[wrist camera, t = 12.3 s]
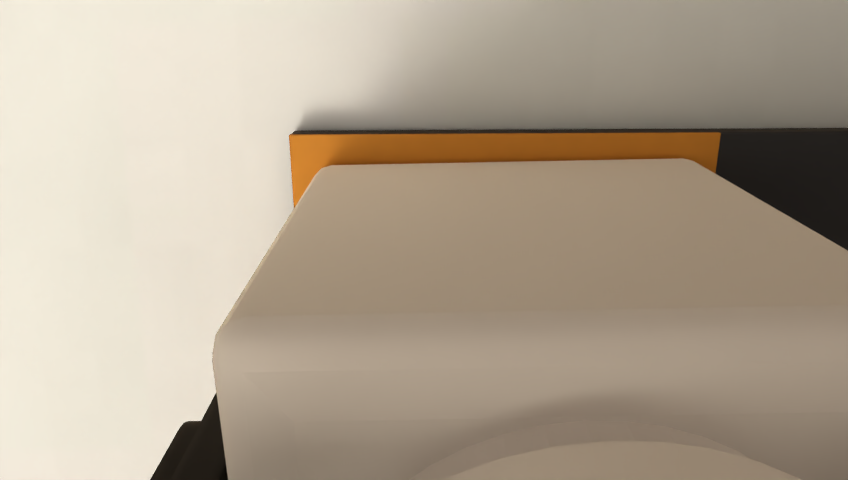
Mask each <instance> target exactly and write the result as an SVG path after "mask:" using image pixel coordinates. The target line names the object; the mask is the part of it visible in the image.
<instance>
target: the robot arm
mask: <svg viewBox="0 0 848 480" xmlns="http://www.w3.org/2000/svg"><path fill="white" fill-rule="evenodd" d="M150 480H228V475H227V467H226V460H225V453H224V445H223V438H222V430H221V423H220V415H219V408H218V400H217V393H216V394H215V396H214V398H213V400H212V402H211V404H210V406H209V408H208V409H207V411H206V413H205V415H204V417H203V419H202V421H188V422H185V423H183V425H182V426H181V427H180V429H179V430H178V432H177V434H176V435H175V437H174V439H173V441H172V443H171V444H170V446H169V448H168V450H167V451H166V453H165V455H164V457H163V458H162V460H161V462H160V464H159V465H158V467H157V469H156V471H155V472H154V474H153V476H152V478H151V479H150Z"/></svg>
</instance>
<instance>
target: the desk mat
mask: <svg viewBox="0 0 848 480" xmlns="http://www.w3.org/2000/svg"><path fill="white" fill-rule="evenodd" d="M289 141H290V156H291V171H292V185H293V200H294V208H295V206H296V205H297V203H298V202H299V200H300V198H301V197H302V195H303V193H304V192H305V190H306V189H307V187H308V185H309V184H310V182H311V181H312V179H313V177H314V176H315V175H316V174H317V172H318V171H319V170H320V169H321V168H324V167H327V166H331V165H367V164H419V163H471V162H523V161H575V160H627V159H679V158H684V159H688V160H692V161H694V162H696V163H698V164H700V165H701V166H703V167H705V168H706V169H708V170H710V171H712V172H713V173H715V174H717V175H718V176H720V177H722V178H724V179H725V180H727V181H729V182H731V183H732V184H734V185H736V186H737V187H739V188H741V189H743V190H744V191H746V192H748V193H749V194H751V195H753V196H755V197H756V198H758V199H760V200H761V201H763V202H765V203H767V204H768V205H770V206H772V207H774V208H775V209H777V210H779V211H780V212H782V213H784V214H786V215H787V216H789V217H791V218H792V219H794V220H796V221H798V222H799V223H801V224H803V225H804V226H806V227H808V228H810V229H811V230H813V231H815V232H817V233H818V234H820V235H822V236H823V237H825V238H827V239H829V240H830V241H832V242H834V243H835V244H837V245H839V246H841V247H842V248H844V249H846V250H847V251H848V128H802V129H595V130H387V131H295V132H293V133H292V134H290V135H289Z"/></svg>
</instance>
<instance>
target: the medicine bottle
mask: <svg viewBox="0 0 848 480" xmlns="http://www.w3.org/2000/svg"><path fill="white" fill-rule="evenodd" d="M212 363H213V370H214V378H215V385H216V393H217V400H218V408H219V415H220V423H221V430H222V438H223V445H224V453H225V460H226V467H227V475H228V480H848V251H847V250H846V249H844V248H842V247H841V246H839V245H837V244H835V243H834V242H832V241H830V240H829V239H827V238H825V237H823V236H822V235H820V234H818V233H817V232H815V231H813V230H811V229H810V228H808V227H806V226H804V225H803V224H801V223H799V222H798V221H796V220H794V219H792V218H791V217H789V216H787V215H786V214H784V213H782V212H780V211H779V210H777V209H775V208H774V207H772V206H770V205H768V204H767V203H765V202H763V201H761V200H760V199H758V198H756V197H755V196H753V195H751V194H749V193H748V192H746V191H744V190H743V189H741V188H739V187H737V186H736V185H734V184H732V183H731V182H729V181H727V180H725V179H724V178H722V177H720V176H718V175H717V174H715V173H713V172H712V171H710V170H708V169H706V168H705V167H703V166H701V165H700V164H698V163H696V162H694V161H692V160H688V159H684V158H679V159H627V160H575V161H523V162H471V163H419V164H367V165H331V166H327V167H324V168H321V169H320V170H319V171H318V172H317V174H316V175H315V176H314V177H313V179H312V181H311V182H310V184H309V185H308V187H307V189H306V190H305V192H304V193H303V195H302V197H301V198H300V200H299V202H298V203H297V205H296V206H295V208H294V210H293V211H292V213H291V214H290V216H289V218H288V219H287V221H286V222H285V224H284V226H283V227H282V229H281V230H280V232H279V234H278V235H277V237H276V239H275V240H274V242H273V243H272V245H271V247H270V248H269V250H268V251H267V253H266V255H265V256H264V258H263V259H262V261H261V263H260V264H259V266H258V267H257V269H256V271H255V272H254V274H253V276H252V277H251V279H250V280H249V282H248V284H247V285H246V287H245V288H244V290H243V292H242V293H241V295H240V296H239V298H238V300H237V301H236V303H235V305H234V306H233V308H232V309H231V311H230V313H229V314H228V316H227V317H226V319H225V321H224V322H223V324H222V325H221V327H220V329H219V330H218V332H217V333H216V336H215V342H214V348H213V358H212Z"/></svg>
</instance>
